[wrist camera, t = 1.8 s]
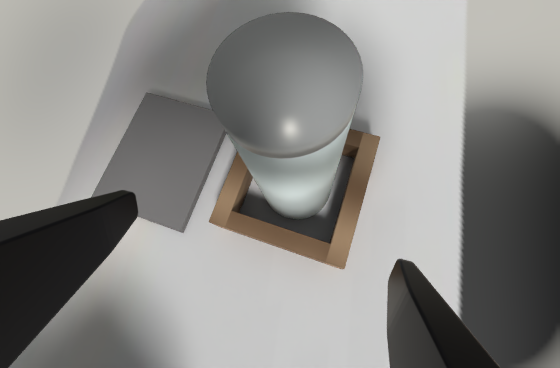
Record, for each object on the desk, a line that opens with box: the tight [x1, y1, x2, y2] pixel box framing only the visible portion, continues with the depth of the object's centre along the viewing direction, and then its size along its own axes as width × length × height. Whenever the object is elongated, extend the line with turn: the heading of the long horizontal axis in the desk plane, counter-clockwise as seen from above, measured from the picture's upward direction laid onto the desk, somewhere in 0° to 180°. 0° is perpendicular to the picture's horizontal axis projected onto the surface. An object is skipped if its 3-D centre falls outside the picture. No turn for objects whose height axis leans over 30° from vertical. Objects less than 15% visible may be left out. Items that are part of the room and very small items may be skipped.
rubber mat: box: [91, 93, 226, 233], centre depth 23 cm, size 10×8×1 cm
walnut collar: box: [209, 129, 380, 269], centre depth 20 cm, size 9×9×2 cm
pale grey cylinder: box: [206, 12, 363, 219], centre depth 15 cm, size 5×5×13 cm
